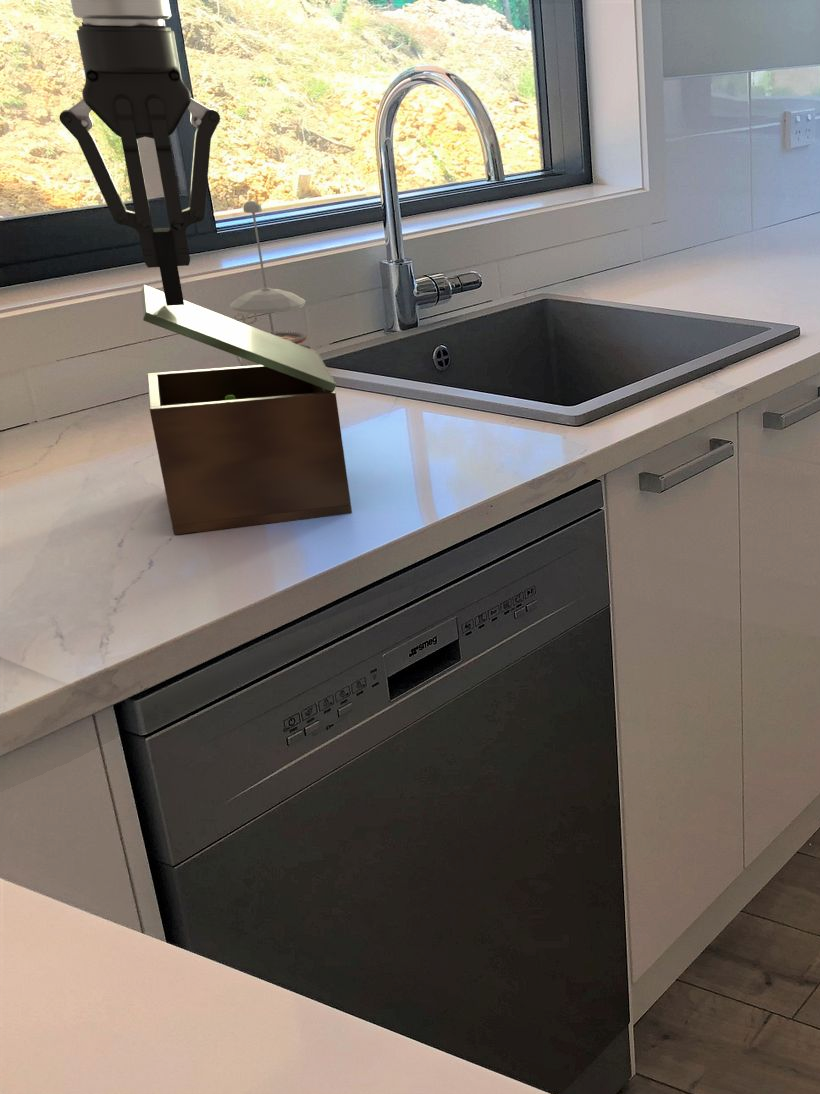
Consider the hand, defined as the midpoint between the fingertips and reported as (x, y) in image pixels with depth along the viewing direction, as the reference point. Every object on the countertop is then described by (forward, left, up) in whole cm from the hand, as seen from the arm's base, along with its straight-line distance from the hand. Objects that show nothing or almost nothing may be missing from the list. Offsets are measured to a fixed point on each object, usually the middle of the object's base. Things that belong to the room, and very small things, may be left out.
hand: (175, 302), depth 128 cm
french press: (+9, +32, -20) cm, 39 cm away
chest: (+4, 0, -20) cm, 20 cm away
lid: (+5, 0, -4) cm, 6 cm away
